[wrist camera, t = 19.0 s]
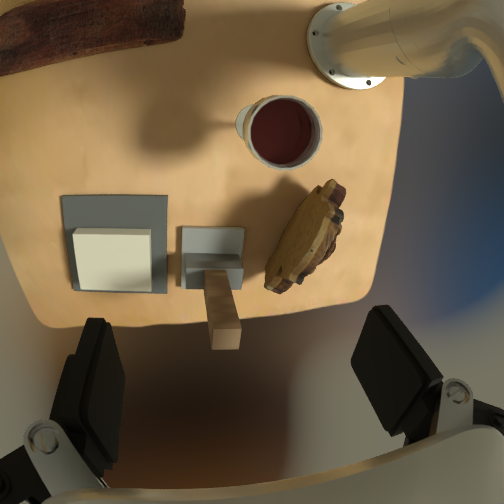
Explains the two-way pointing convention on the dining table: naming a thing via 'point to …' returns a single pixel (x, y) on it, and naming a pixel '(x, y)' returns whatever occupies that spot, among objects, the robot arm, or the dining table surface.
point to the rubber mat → (120, 216)
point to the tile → (113, 259)
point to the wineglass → (280, 131)
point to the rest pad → (210, 242)
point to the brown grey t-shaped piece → (217, 293)
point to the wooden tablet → (83, 29)
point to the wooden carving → (307, 238)
